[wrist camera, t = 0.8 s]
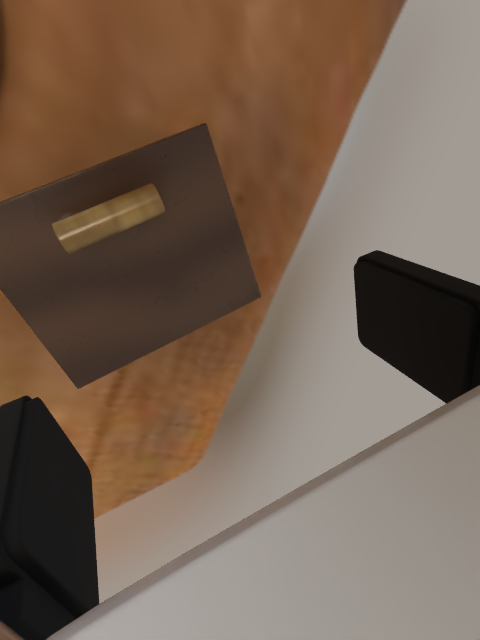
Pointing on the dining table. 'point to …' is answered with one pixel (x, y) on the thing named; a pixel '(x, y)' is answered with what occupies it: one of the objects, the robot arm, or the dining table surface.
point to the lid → (125, 255)
